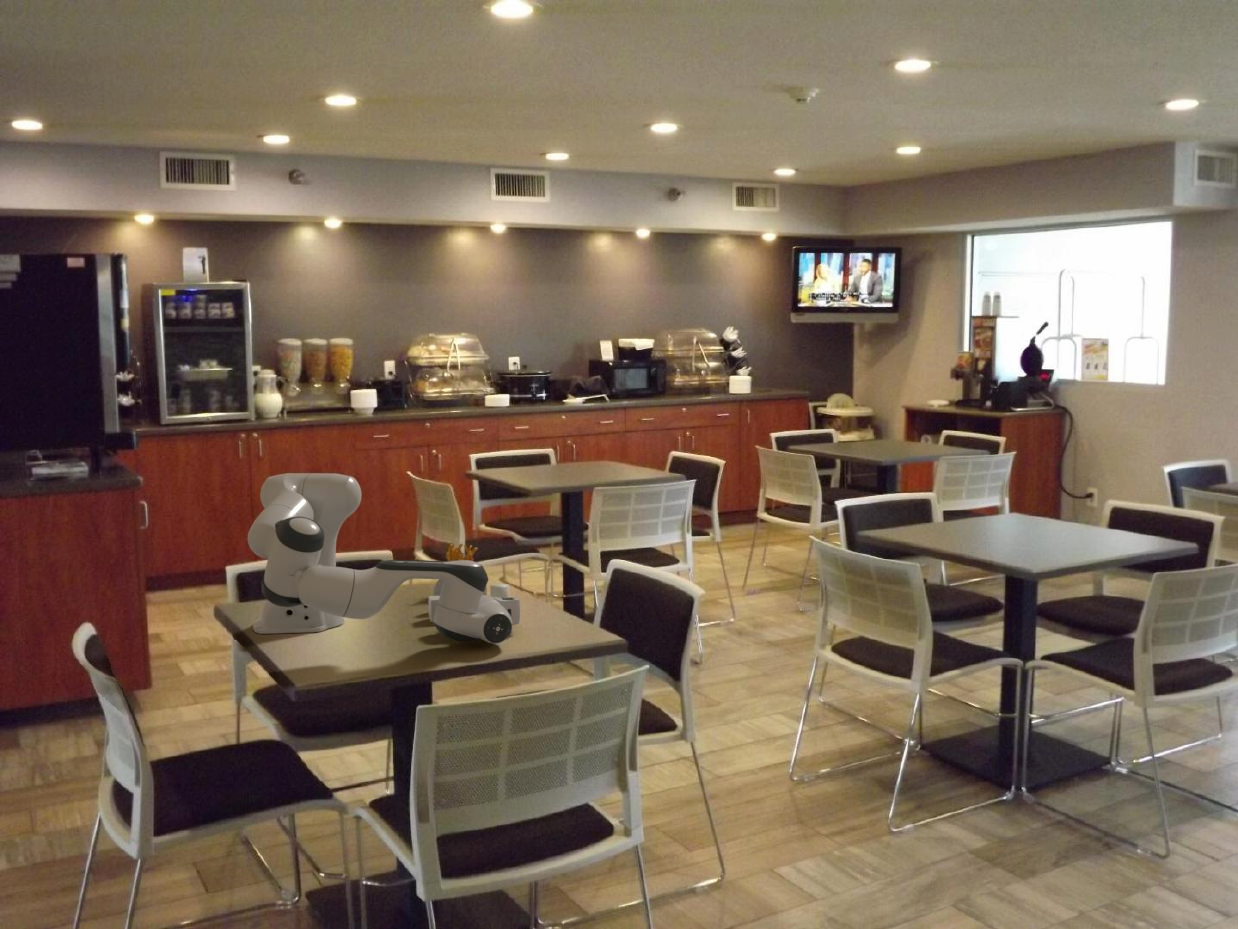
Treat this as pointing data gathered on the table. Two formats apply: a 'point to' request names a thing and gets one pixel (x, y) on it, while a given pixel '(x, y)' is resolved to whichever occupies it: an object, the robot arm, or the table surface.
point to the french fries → (460, 553)
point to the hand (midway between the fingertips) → (474, 602)
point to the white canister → (500, 590)
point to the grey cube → (432, 606)
